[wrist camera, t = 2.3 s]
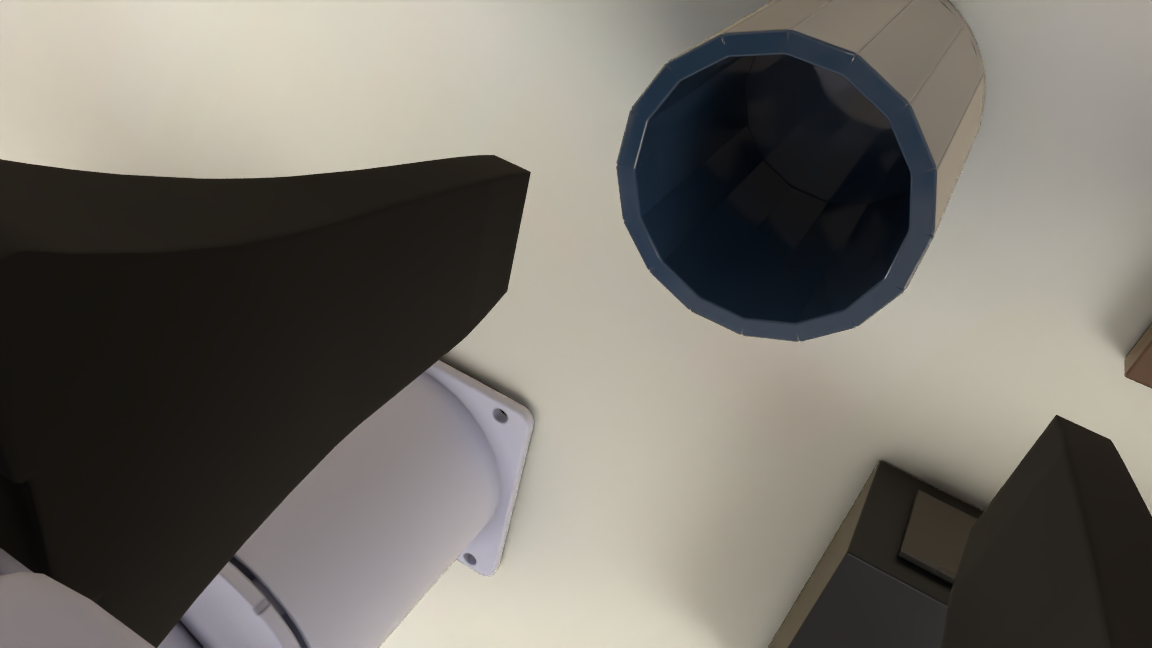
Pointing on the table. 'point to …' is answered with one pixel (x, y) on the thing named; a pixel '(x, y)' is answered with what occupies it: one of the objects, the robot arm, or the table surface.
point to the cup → (802, 161)
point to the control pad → (1140, 360)
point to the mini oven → (884, 570)
